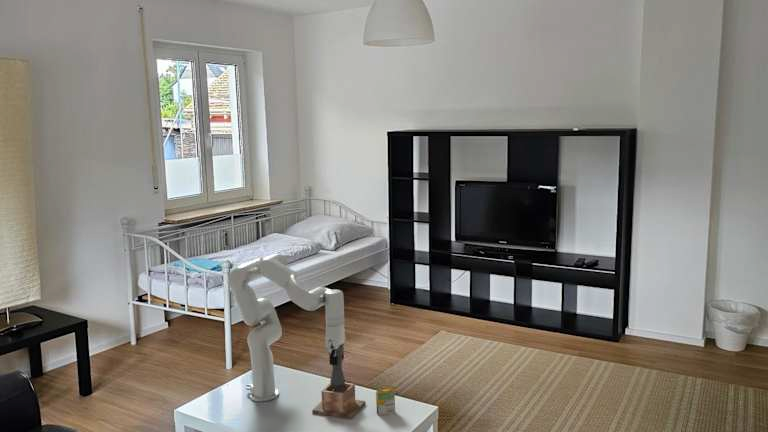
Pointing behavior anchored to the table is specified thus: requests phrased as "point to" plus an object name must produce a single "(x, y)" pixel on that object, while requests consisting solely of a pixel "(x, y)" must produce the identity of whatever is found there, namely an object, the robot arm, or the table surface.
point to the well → (339, 403)
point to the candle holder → (338, 372)
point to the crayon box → (385, 401)
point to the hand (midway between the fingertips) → (336, 361)
